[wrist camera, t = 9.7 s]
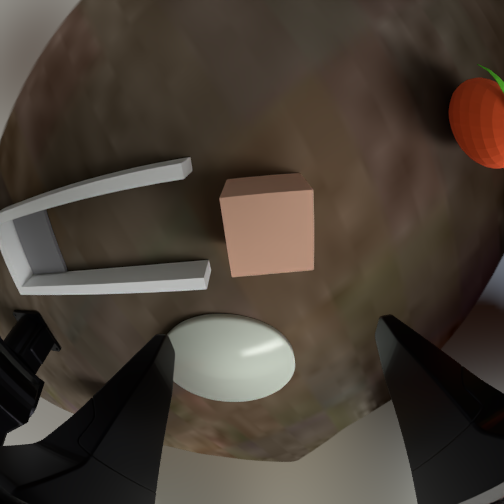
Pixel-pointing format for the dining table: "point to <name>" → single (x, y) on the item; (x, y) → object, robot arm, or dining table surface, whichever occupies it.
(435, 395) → the robot arm
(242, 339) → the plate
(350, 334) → the dining table surface
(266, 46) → the dining table surface
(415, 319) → the dining table surface
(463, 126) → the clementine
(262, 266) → the block
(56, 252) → the channel
